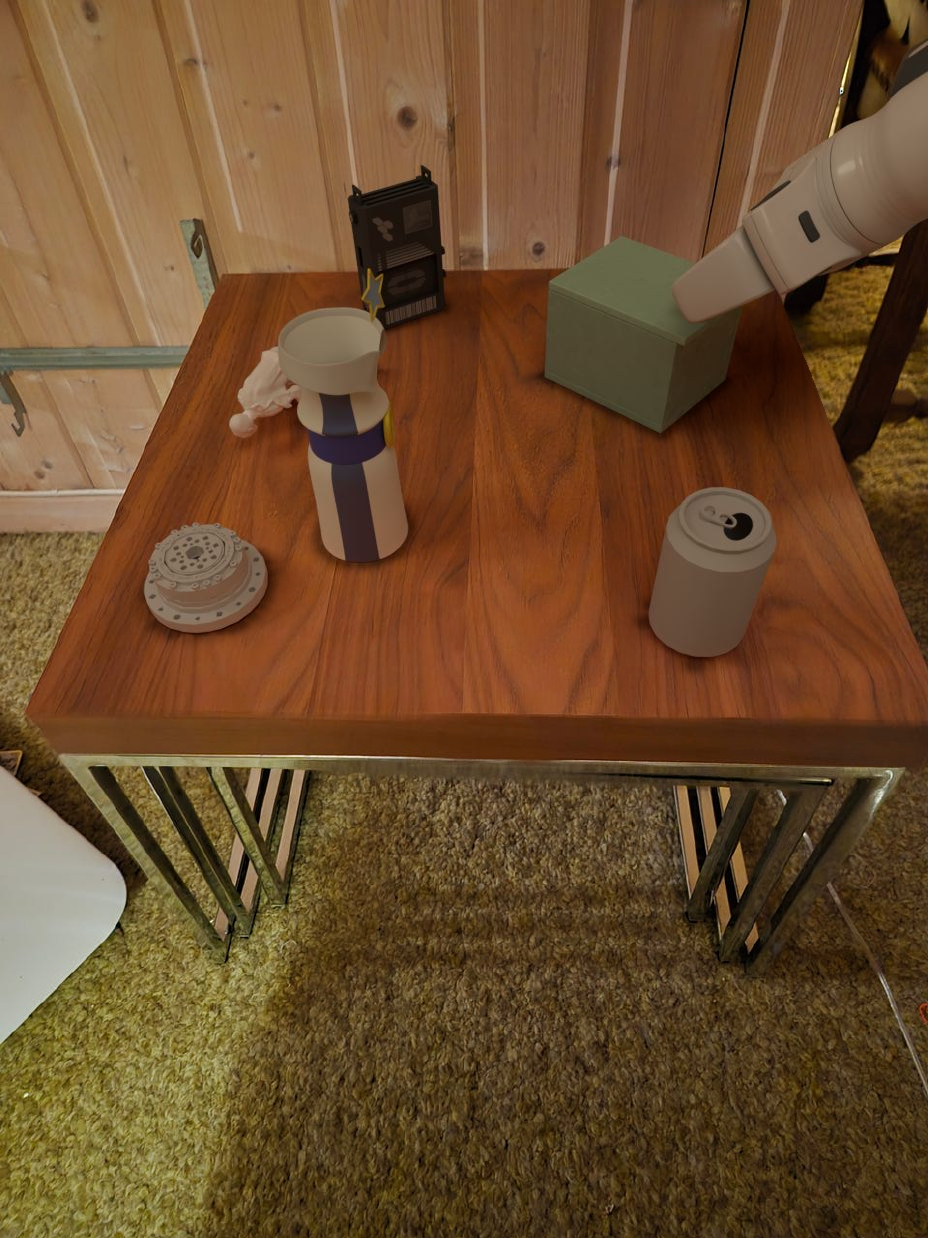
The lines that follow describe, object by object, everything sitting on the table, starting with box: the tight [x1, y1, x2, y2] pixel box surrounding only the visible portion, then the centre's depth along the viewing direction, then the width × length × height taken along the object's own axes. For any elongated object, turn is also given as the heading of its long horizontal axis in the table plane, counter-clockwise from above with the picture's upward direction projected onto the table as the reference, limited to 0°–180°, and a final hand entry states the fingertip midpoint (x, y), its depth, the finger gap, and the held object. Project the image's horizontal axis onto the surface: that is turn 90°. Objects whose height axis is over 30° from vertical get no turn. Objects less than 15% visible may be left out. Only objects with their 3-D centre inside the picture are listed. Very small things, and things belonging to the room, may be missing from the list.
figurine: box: [228, 345, 302, 439], centre depth 84 cm, size 7×8×18 cm
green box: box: [544, 288, 744, 434], centre depth 83 cm, size 15×12×10 cm
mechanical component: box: [143, 522, 269, 634], centre depth 69 cm, size 10×4×10 cm
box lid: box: [548, 235, 730, 346], centre depth 78 cm, size 15×12×5 cm
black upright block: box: [347, 164, 447, 331], centre depth 91 cm, size 10×5×15 cm, turn 120°
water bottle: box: [277, 269, 409, 564], centre depth 65 cm, size 8×9×25 cm
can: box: [648, 486, 778, 658], centre depth 61 cm, size 8×8×12 cm
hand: (699, 285), depth 75 cm, fingers closed on box lid, 5 cm apart
